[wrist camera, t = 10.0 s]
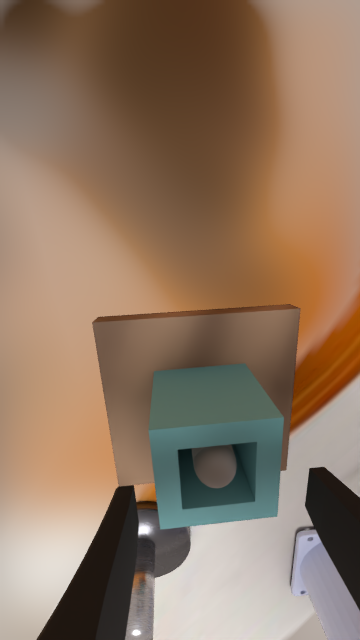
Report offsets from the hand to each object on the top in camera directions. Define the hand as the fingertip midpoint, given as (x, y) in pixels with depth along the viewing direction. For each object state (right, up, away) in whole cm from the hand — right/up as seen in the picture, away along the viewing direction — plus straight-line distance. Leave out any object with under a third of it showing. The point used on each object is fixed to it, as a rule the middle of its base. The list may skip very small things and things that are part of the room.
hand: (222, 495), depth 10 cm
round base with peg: (-5, -11, +10) cm, 16 cm away
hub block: (0, +2, +7) cm, 7 cm away
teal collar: (0, +2, +6) cm, 6 cm away
